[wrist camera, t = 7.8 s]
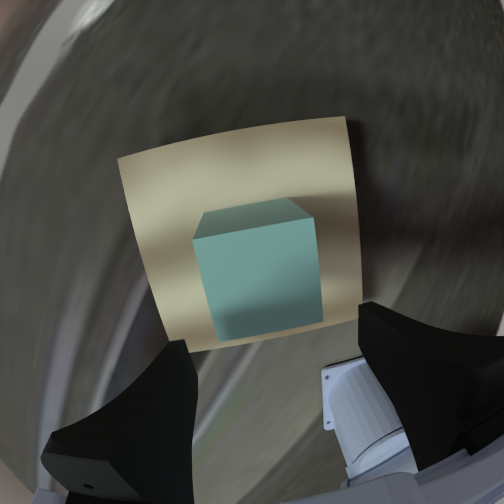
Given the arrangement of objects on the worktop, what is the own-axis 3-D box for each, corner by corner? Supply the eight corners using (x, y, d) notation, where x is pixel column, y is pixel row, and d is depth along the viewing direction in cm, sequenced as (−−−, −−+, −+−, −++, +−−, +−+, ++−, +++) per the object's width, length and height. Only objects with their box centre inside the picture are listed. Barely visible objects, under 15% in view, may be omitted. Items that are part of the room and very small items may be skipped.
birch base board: (350, 302, 23) (362, 317, 21) (179, 336, 23) (174, 354, 21) (331, 120, 19) (344, 116, 16) (130, 158, 19) (117, 158, 16)
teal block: (297, 274, 19) (323, 321, 14) (220, 288, 19) (218, 342, 14) (286, 197, 18) (313, 217, 12) (203, 212, 18) (191, 240, 12)
